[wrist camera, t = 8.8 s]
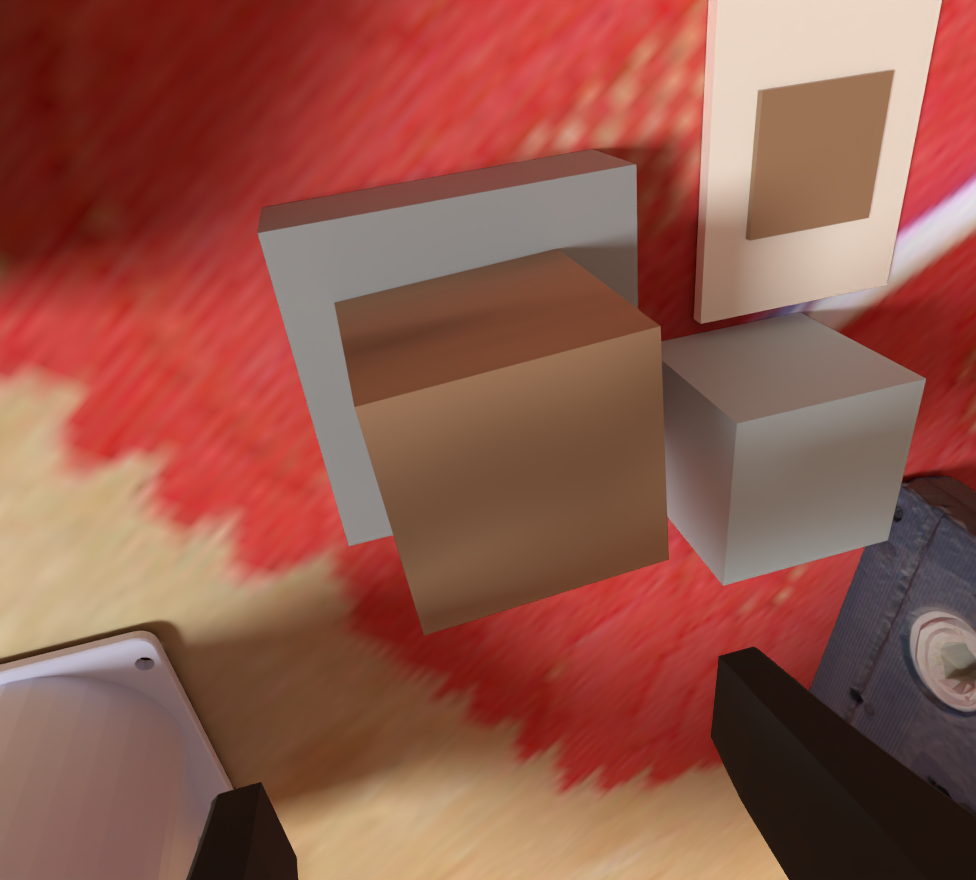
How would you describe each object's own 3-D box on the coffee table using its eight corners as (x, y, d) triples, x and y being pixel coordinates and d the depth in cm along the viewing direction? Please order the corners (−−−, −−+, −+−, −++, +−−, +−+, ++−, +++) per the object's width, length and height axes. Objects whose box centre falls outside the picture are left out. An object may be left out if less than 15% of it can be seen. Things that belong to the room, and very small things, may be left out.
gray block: (780, 450, 24) (887, 540, 19) (642, 485, 23) (723, 585, 19) (797, 310, 21) (926, 378, 17) (642, 344, 20) (737, 423, 16)
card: (877, 281, 21) (892, 287, 20) (693, 319, 20) (704, 326, 20) (936, -40, 17) (956, -43, 16) (709, -11, 16) (722, -12, 15)
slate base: (598, 422, 22) (639, 473, 19) (341, 483, 20) (348, 545, 18) (586, 146, 17) (636, 164, 15) (262, 203, 16) (257, 233, 14)
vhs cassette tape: (810, 781, 35) (976, 1015, 27) (759, 792, 34) (913, 1036, 26) (956, 467, 26) (1272, 669, 18) (890, 473, 25) (1188, 686, 17)
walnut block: (578, 438, 18) (668, 559, 14) (389, 491, 17) (424, 635, 13) (557, 248, 15) (660, 326, 11) (333, 302, 15) (354, 407, 11)
